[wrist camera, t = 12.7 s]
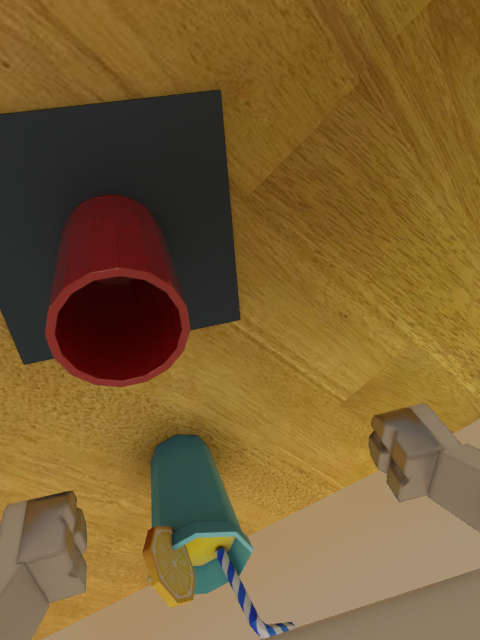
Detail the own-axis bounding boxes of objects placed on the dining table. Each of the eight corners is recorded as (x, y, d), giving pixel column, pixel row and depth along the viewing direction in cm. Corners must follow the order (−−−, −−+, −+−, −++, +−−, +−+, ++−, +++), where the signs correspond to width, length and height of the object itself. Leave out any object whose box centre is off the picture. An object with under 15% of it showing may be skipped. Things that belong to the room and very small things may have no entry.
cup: (267, 454, 44) (333, 613, 32) (218, 503, 46) (261, 671, 34) (150, 401, 37) (176, 580, 25) (97, 462, 39) (97, 656, 27)
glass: (49, 202, 27) (25, 284, 18) (152, 187, 28) (179, 256, 19) (77, 292, 30) (68, 399, 21) (168, 275, 32) (197, 370, 22)
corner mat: (-77, 122, 24) (-79, 123, 23) (219, 89, 27) (220, 90, 26) (24, 362, 32) (23, 365, 32) (239, 318, 35) (240, 320, 35)
